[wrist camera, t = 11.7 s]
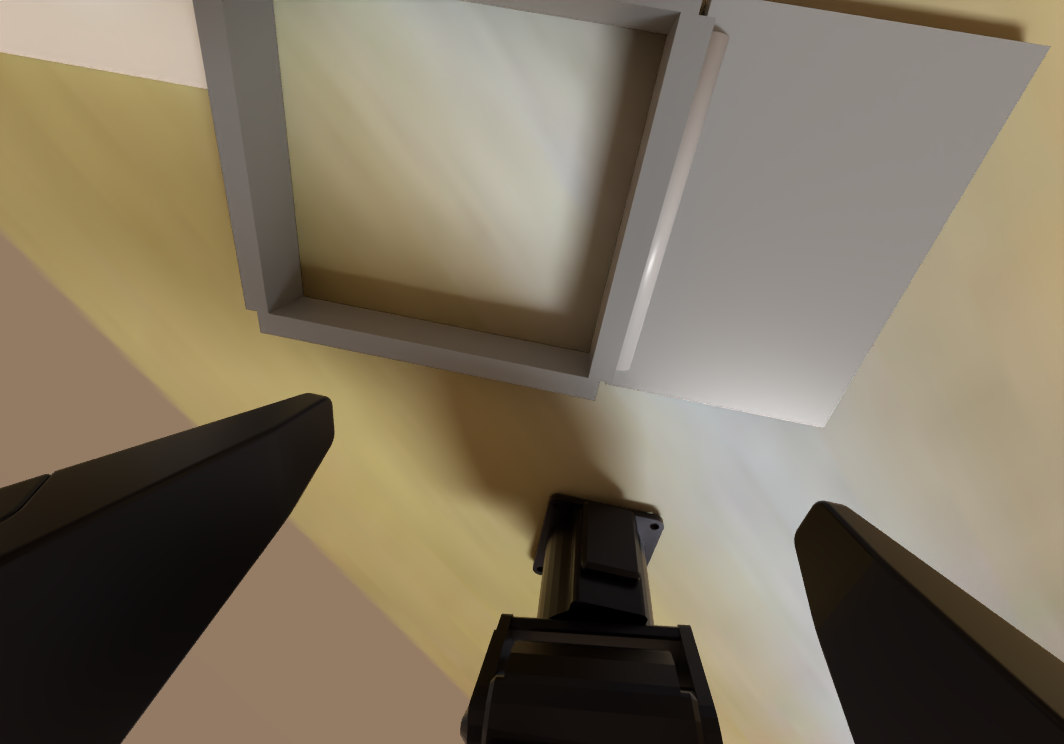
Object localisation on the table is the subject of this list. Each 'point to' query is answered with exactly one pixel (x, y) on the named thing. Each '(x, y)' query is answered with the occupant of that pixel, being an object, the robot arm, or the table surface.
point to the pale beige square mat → (108, 36)
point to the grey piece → (686, 199)
